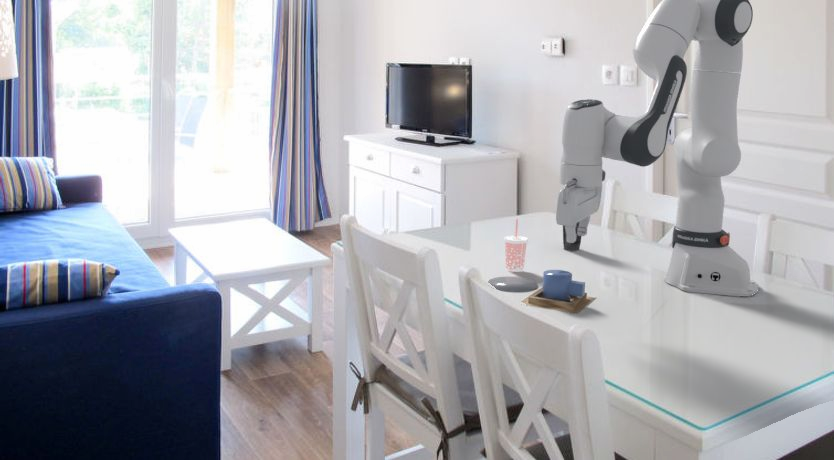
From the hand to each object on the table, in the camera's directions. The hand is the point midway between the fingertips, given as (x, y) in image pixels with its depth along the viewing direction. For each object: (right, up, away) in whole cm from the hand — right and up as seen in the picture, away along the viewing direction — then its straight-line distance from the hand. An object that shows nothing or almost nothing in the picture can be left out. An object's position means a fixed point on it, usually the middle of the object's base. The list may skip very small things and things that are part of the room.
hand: (576, 238), depth 193 cm
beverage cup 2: (+10, -4, +64) cm, 64 cm away
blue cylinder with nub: (-1, -15, +11) cm, 18 cm away
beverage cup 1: (-9, -9, +38) cm, 40 cm away
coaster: (-11, -12, +24) cm, 29 cm away
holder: (-2, -15, +11) cm, 19 cm away
